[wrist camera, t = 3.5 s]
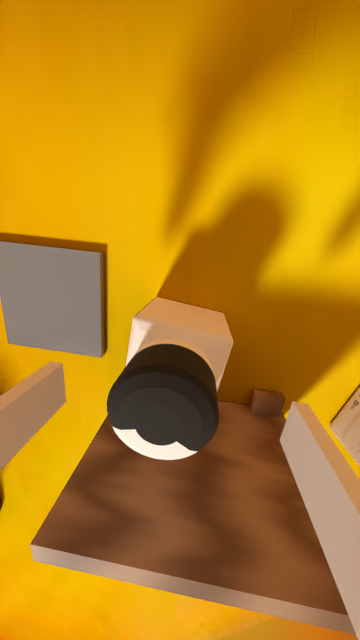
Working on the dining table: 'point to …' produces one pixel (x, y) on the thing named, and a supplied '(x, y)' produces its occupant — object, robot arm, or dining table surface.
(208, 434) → the medicine bottle
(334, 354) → the dining table surface
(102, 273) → the coaster
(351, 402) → the skincare box
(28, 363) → the dining table surface
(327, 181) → the dining table surface
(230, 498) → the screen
